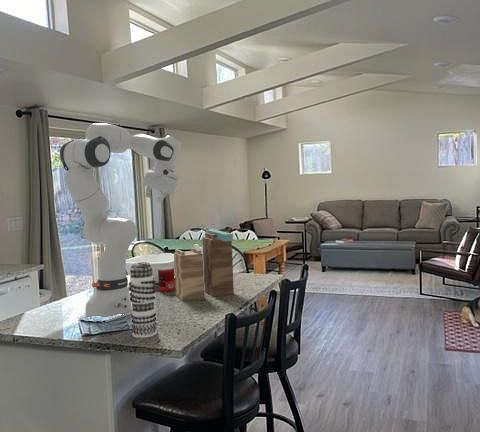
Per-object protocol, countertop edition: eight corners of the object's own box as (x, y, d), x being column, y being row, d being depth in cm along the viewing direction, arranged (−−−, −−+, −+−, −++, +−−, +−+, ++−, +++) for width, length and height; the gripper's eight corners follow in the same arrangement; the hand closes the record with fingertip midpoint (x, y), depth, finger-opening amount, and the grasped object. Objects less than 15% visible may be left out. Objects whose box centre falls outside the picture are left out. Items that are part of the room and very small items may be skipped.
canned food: (176, 288, 250) (175, 266, 249) (172, 291, 242) (171, 269, 241) (161, 288, 251) (160, 266, 250) (157, 292, 243) (156, 269, 242)
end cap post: (233, 294, 232) (231, 233, 230) (213, 296, 228) (210, 235, 226) (224, 289, 243) (222, 231, 241) (204, 291, 239) (202, 233, 237)
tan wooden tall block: (204, 298, 227) (202, 250, 225) (183, 300, 223) (180, 252, 221) (196, 292, 238) (194, 247, 236) (175, 295, 234) (173, 249, 232)
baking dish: (146, 274, 290) (145, 252, 290) (192, 275, 282) (191, 253, 281) (114, 287, 258) (113, 262, 257) (165, 288, 249) (164, 263, 249)
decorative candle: (160, 329, 181) (156, 260, 179) (154, 337, 172) (151, 265, 170) (135, 330, 181) (131, 261, 179) (128, 338, 172) (124, 265, 170)
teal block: (233, 240, 220) (232, 233, 220) (225, 241, 218) (225, 234, 218) (213, 235, 244) (212, 229, 244) (206, 235, 242) (205, 229, 242)
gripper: (144, 165, 238) (135, 192, 238) (171, 173, 224) (161, 202, 224) (154, 169, 242) (145, 196, 242) (182, 177, 229) (171, 205, 229)
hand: (153, 199), depth 233 cm, fingers open, 8 cm apart
